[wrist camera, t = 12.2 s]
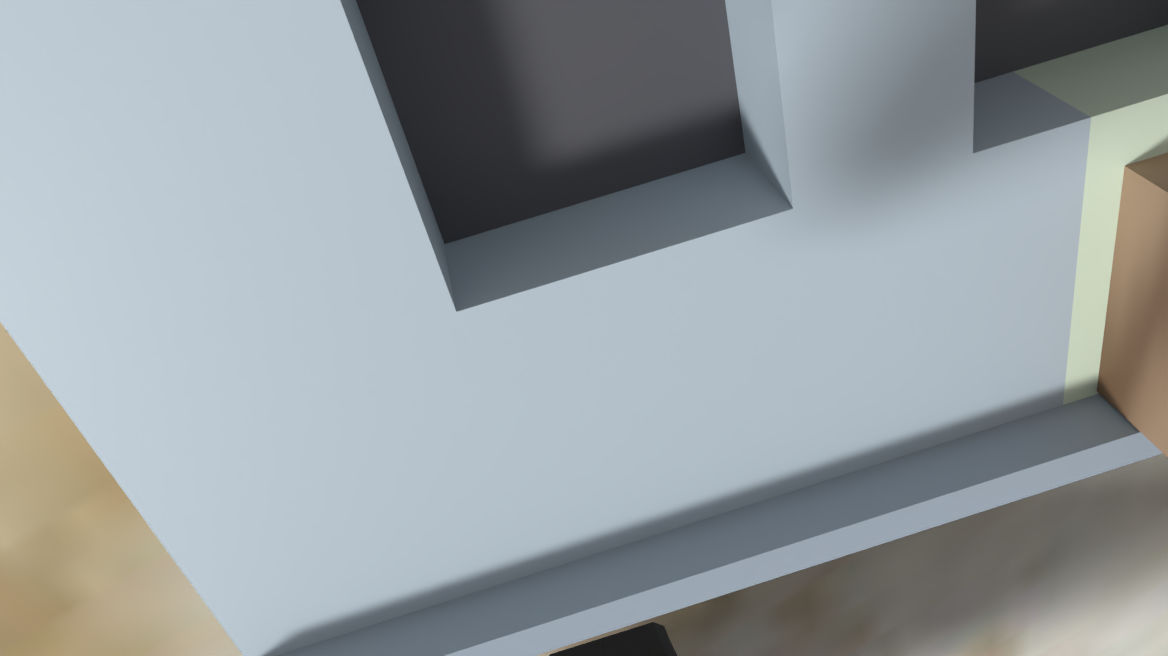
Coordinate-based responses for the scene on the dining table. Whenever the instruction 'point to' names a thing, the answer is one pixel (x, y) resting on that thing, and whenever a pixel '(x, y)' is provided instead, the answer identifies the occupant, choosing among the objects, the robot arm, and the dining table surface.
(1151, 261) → the walnut block
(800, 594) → the dining table surface
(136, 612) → the dining table surface
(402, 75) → the trap tray
